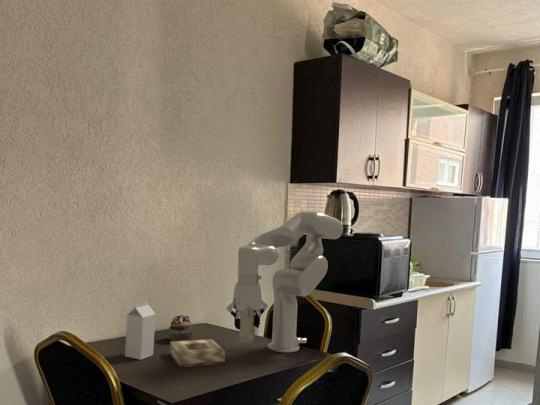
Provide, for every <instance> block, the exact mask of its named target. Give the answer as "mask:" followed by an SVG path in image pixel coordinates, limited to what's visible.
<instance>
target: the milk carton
mask: <svg viewBox="0 0 540 405" xmlns="http://www.w3.org/2000/svg"><path fill="white" fill-rule="evenodd" d="M126 316H127V317H126V329H125V330H126V331H125V348H124V356H125V357H127V358H129V359H130V358H131V359H136V360H141V361H142V360H143V359H147V358H149V357H152V356H154V345H155V330H156V329H155V328H156V313H155V312H154V310H153V309H152V308H151V306H150V305H149V301H146V302H140V303H137V304H135V305H134V307H133V309H132V310H131V311H130V312H128V313H127V315H126Z"/></svg>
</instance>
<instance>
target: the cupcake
mask: <svg viewBox="0 0 540 405" xmlns="http://www.w3.org/2000/svg"><path fill="white" fill-rule="evenodd" d="M193 330H194V328H193V326H192V322H191V318H190V317H189V316H188V315H185V316H184V315H183V314H180V315H175V316H172V321H171V322H170V326H169V329H168V331H169V338H170V342H174V341H191V339H192V334H193Z"/></svg>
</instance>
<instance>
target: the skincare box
mask: <svg viewBox="0 0 540 405" xmlns="http://www.w3.org/2000/svg"><path fill="white" fill-rule="evenodd" d="M239 319H240V330H239V343H248V344H249V343H252V342H253V341H254V339H255V326H254V320H255V311H253V309H244V311H241V314H240V316H239Z"/></svg>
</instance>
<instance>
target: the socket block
mask: <svg viewBox="0 0 540 405" xmlns="http://www.w3.org/2000/svg"><path fill="white" fill-rule="evenodd" d="M169 343H170V344H169V355H170V357H172V359H173V361H174V362H175V364H176V365H177V366H178V367H179V368H190V367H201V366H202V367H203V366H204V367H205V366H213V365H214V366H216V365H225V363H226V362H225V361H226V360H225V359H226V350H225V349H223V347H222V346H220V345H219V344H218V343H217V342H216V341H215V340H214V339H211V338H209V339H194V340H191V339H190V341H174V342H172V341H170V342H169Z"/></svg>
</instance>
